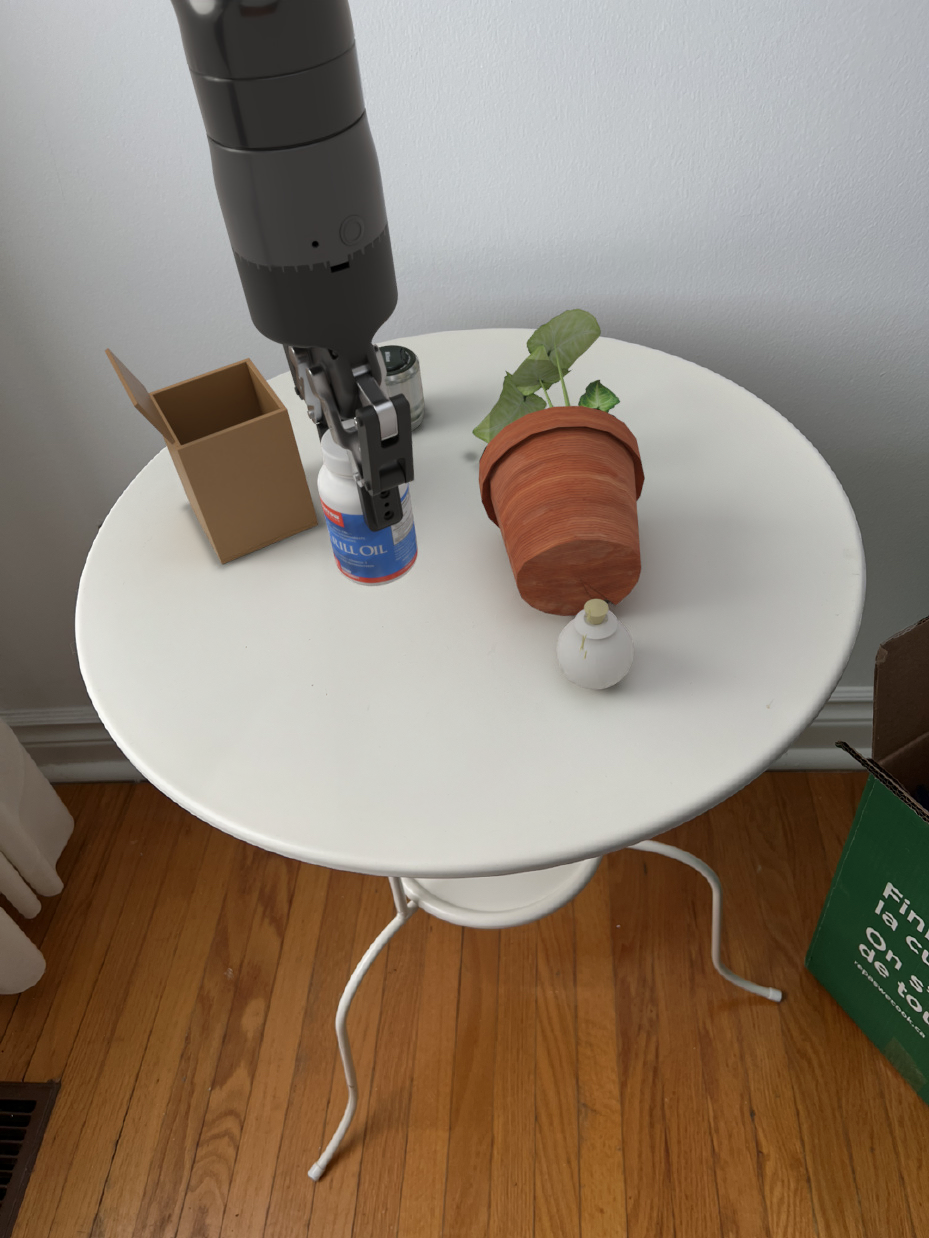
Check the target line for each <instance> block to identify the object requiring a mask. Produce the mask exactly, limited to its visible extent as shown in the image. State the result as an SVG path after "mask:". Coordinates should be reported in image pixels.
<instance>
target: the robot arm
mask: <svg viewBox="0 0 929 1238" xmlns="http://www.w3.org/2000/svg"><path fill="white" fill-rule="evenodd" d="M169 1H170V3H171V5H172V8H173V11H174V13H175V18H176V21H177V24H178V29H179V32H180V33H179V34H180V38H181V43H182V47H183V52H184V56H185V60H186V65H187V66H188V70H189V74H190V78H191V80H192V85H193V89H194V93H195V96H196V99H197V102H198V103H197V104H198V107H199V110H200V111H199V112H200V115H201V118H202V122H203V126H204V129H205V134H206V139H207V143H208V149H209V155H210V161H211V169H212V177H213V183H214V188H215V192H216V195H217V196H216V197H217V200H218V204H219V207H220V211H221V214H222V215H221V216H222V219H223V221H224V225H225V229H226V233H227V236H228V241H229V243H230V247H231V251H232V254H233V258H234V261H235V265H236V268H237V272H238V275H239V280H240V283H241V286H242V290H243V294H244V298H245V301H246V305H247V308H248V313H249V316H250V319H251V322H252V324H253V326H254V327H255V328H256V330H257V331H258V332H259V333H260V334H261V335H262V336H264V337H265V338H266V339H268V340H270V341H272V342H274V343H277V344H279V345H282V348H283V351H284V355H285V359H286V361H287V365H288V368H289V372H290V374H291V378H292V381H293V384H294V392H295V394H296V396H298V398H299V399H300V400H301V401H304V403H305V404H306V406H307V411H306V412H307V416H308V418H309V420H311V421H312V423H313V424H314V425H315V427H316V431H317V435H318V439H319V443H320V444H321V440H322V437H323V435H324V434H325V432H326V431H327V430H328V429H329V430H330V433H331V436H332V439H333V441H334V443H335V444H337V445H338V446H340V447H342V448H344V449H346V452H347V455H348V458H349V461H350V464H351V467H352V470H353V477H354V480H355V482H356V485H357V489H358V494H359V499H360V503H361V508H362V513H363V517H364V522H365V524H366V525H367V526H368V528H369V529H370V531H372V532H377V531H380V530H382V529H385V528H387V527H390V526H392V525H395V524H397V523H399V522H400V521H401V520H402V518H403V510H402V504H401V498H400V493H399V487H398V485H401V484H404V483H411V482H414V480H415V466H414V450H413V449H414V448H413V430H412V428H411V411H410V404H409V401H408V400H407V399H406V397H405V396H404V394H402V393H400V394H398V395H395V396H392V397H390V396H389V393H388V390H387V386H386V383H385V378H386V375H387V370H386V367H385V363H384V360H383V357H382V354H381V351H380V349H379V347H380V346H378V344H376V343H372V342H373V339H374V337H375V336H376V333H377V332H378V331H379V330H380V328H381V327H382V326H383V325H384V324H385V323H386V322H387V321H388V320H389V319H390V318H391V316H392V315H393V313H394V312H395V309H396V307H397V305H398V302H399V301H398V300H399V290H398V283H397V278H396V270H395V264H394V263H395V262H394V256H393V248H392V242H391V241H392V240H391V234H390V228H389V221H388V214H387V205H386V201H385V193H384V187H383V181H382V180H383V179H382V173H381V167H380V162H379V156H378V152H377V148H376V144H375V141H374V137H373V134H372V131H371V127H370V123H369V119H368V114H367V109H366V102H365V95H364V89H363V82H362V74H361V68H360V61H359V54H358V48H357V42H356V41H357V40H356V38H355V37H356V35H355V29H354V23H353V17H352V13H351V8H350V3H349V0H169ZM350 419H356V420H354V424H355V426H353V427H351V428H348V429H344V427H343V424H342V422H343V421H346V420H350ZM359 448H360V449H359Z"/></svg>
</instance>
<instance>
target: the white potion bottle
mask: <svg viewBox="0 0 929 1238" xmlns="http://www.w3.org/2000/svg"><path fill="white" fill-rule="evenodd" d="M555 652H556V660H557V663H558V666H559V668H560V670H561V672H562V673H563V675H564V676H565V677H566V678H567V679H568V681H570V682H572V684H574V685H576V686H578V687H581V688H584V689H587V690H604V689H608V688H610V687H612V686H615V684H618V683H619V682H620V681H622V680H623V679H624V678H625V677H626V676H627V674H628V672H629V671H630V669H631V667H632V665H633V662H634V656H635V647H634V642H633V637H632V635H631V633H630V632H629V630H628V629H627V627H626V626H625V625H624V624H623V623H622V622H621V621H620V620H619V619H618V617H617V616H616V615H615V613H613V611H612V610H610V608H609V604H607V603H606V602H605V601H603V600H601V599H591V600H589V601H587V602H586V604H585V605H584V609H583V610H582V611H580V612H579V613H578V614H577V615H576V616H575V617H574V618H573V619H571V620H570V621H569V622H568V623H567V624H566V625H565V626H564V627H563V628H562V630H561V632H560V633H559V635H558V638H557V642H556V650H555Z"/></svg>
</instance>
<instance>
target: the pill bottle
mask: <svg viewBox="0 0 929 1238" xmlns="http://www.w3.org/2000/svg"><path fill="white" fill-rule="evenodd" d="M354 420H356V418H354V419H350V420H346V421H343V422H342V424H343V427H344V429H348V428H351V427H353V426H355V424H354ZM320 448H321V455H322V462H323V464H322V466H321V467H320V469H319V472H318V475H317V490H318V495H319V499H320V504H321V508H322V511H323V515H324V519H325V523H326V527H327V532H328V537H329V539H330V543H331V548H332V553H333V556H334V561H335V564H336V567H337V569H338V572H339V573H340V574H341V575H342V576H343V577H344V578H345V579H346V580H348V581H349V582H352V583H353V584H356V585H359V586H363V587H379V586H380V587H381V586H384V585H389V584H392V583H394V582H396V581H398V580H400V579H401V578H403V577H404V576H406V575H407V574H408V573H409V572H411V570H412V569H413V568H414V566H415V564H416V563H417V559H418V552H419V547H418V540H417V531H416V524H415V520H414V512H413V511H414V510H413V506H412V505H413V504H412V499H411V497H412V496H411V491H410V484H409V483H410V482H408V483H404V484H401V485H398V487H399V493H400V498H401V504H402V510H403V518H402V520H401V521H400V522H399V523H397V524H395V525H392V526H390V527H387V528H385V529H382V530H380V531H377V532H372V531H370V529H369V528H368V526H367V525H366V524H365V522H364V517H363V513H362V508H361V503H360V499H359V494H358V489H357V485H356V482H355V480H354V477H353V470H352V467H351V464H350V461H349V458H348V455H347V452H346V449H344V448H342V447H340V446H338V445H337V444H335V443H334V441H333V439H332V436H331V433H330V430H329V429H328V430H327V431H326V432H325V434H324V435H323V437H322V440H321V443H320ZM359 449H360V448H359Z"/></svg>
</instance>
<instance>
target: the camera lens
mask: <svg viewBox="0 0 929 1238" xmlns="http://www.w3.org/2000/svg"><path fill="white" fill-rule="evenodd" d="M378 347H379V349H380V351H381V354H382V357H383V360H384V363H385V367H386V370H387V375H386V378H385V383H386V386H387V390H388V393H389V396H390V397H392V396H395V395H398V394H400V393H402V394H404V396H405V397H406V399H407V400H408V401H409V404H410V411H411V428H412V431H414V430H416V429H417V428H419V426H420V425H421V424H422V422H423V420H424V413H425V396H424V388H423V380H422V374H421V366H420V359H419V357H418V355H417V354H416V353H415V352H414V351H413V350H412V349H410V348H408V347H406V346H402V345H396V344H389V345H381V346H378Z"/></svg>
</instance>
